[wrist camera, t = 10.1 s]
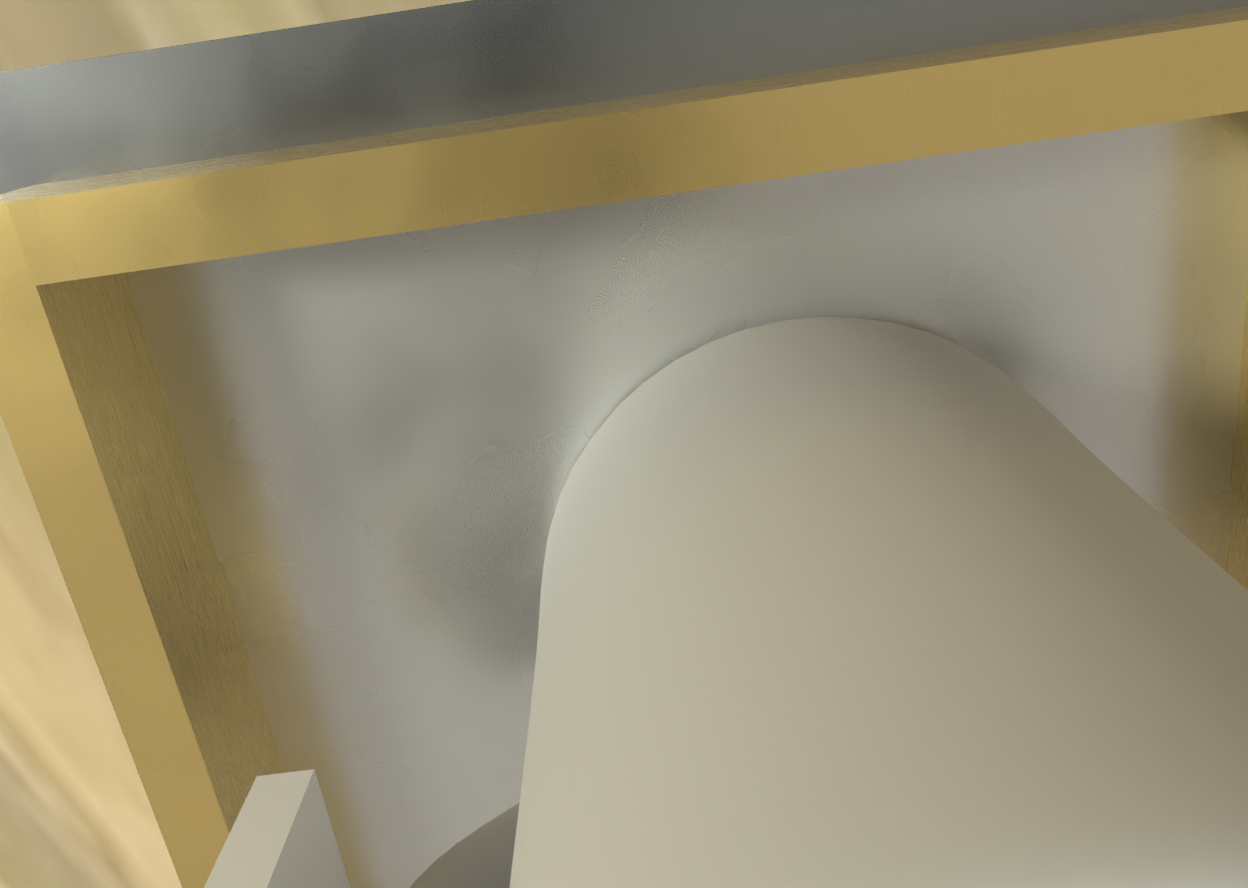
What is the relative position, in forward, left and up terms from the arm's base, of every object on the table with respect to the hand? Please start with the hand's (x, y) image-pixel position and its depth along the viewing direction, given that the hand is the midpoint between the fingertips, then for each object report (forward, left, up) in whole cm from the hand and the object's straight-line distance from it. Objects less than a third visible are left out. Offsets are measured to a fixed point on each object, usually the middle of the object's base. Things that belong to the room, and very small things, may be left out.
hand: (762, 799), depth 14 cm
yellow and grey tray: (+1, 0, -8) cm, 8 cm away
